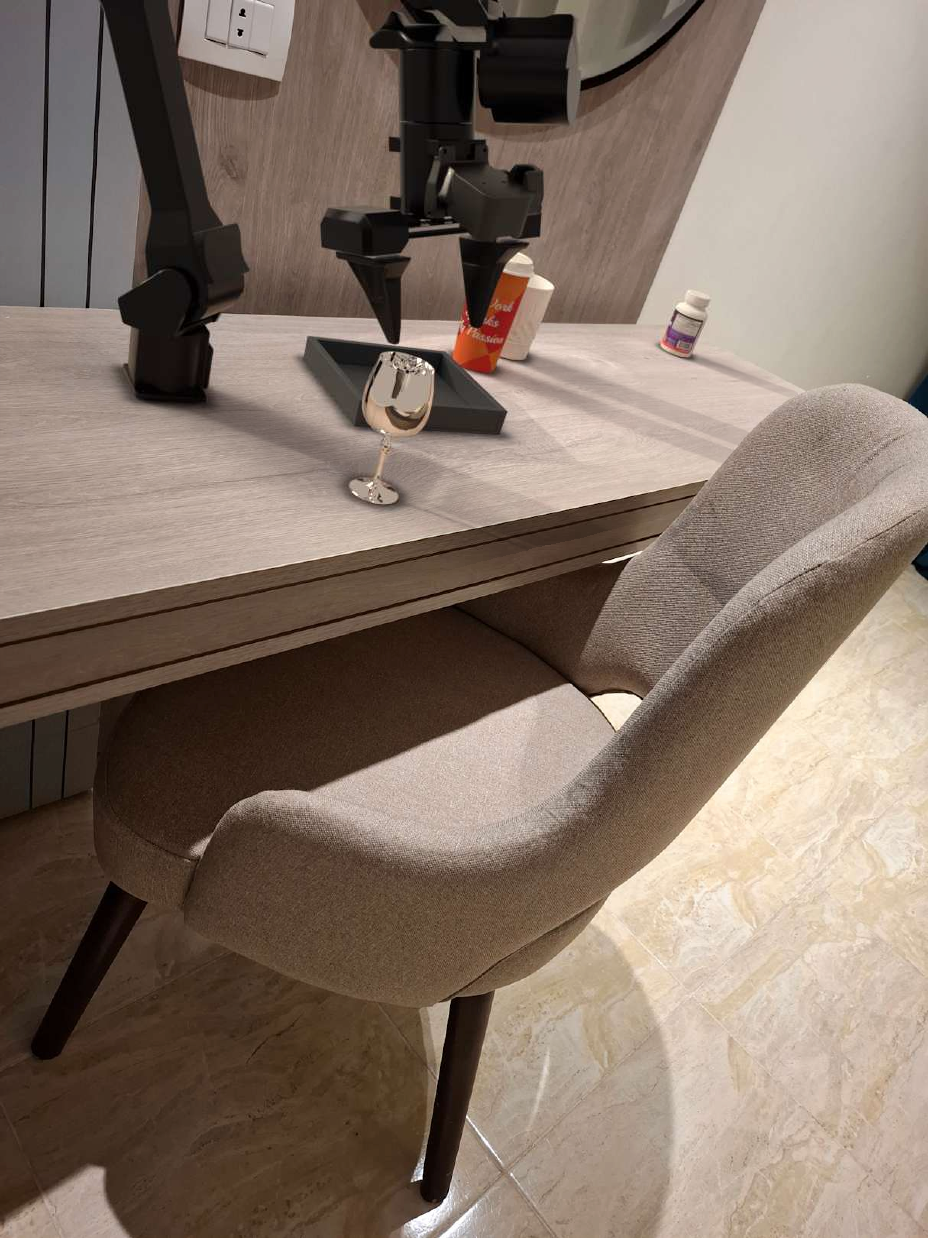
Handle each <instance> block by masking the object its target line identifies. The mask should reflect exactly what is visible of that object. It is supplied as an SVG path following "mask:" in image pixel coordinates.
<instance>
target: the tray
mask: <svg viewBox="0 0 928 1238" xmlns="http://www.w3.org/2000/svg"><path fill="white" fill-rule="evenodd" d="M384 352H400V353H405V354H409V355H412V356H415V357H417V358H420V359H422V360H424V361H425V362H427V363H429V364H430V365H431V366H432V367H433V368H434V370H435V378H434V395H433V403H432V408H431V412H430V415H429V417H428V420H427V422H426V424H425V425H424V427H423V428H422V429H421V430H420V431H434V432H435V431H436V432H453V433H467V434H468V433H470V434H485V435H501V433H502V429H503V427H504V424H505V421H506V417H507V415H508V410H507V409H506V408H505V407H504V406H503V405H502V404H501V403H500V402H499V401H497V399H496V398H495V397H494V396H492V394H491V393H489V392H488V390H486V388H484V387H483V385H481V384H480V383H479V382H478V381H477V380H476V379H475V378H474V377H473V376H472V375H471V374H470V373H469V372H467V370H465V368H464V367H463V366H461V365H459V364H458V363H457V362H456V361H455V360H454V359H453V356H451V355H450V354H449V353H448V352H447V351H445V350H437V349H430V348H429V349H427V348H420V347H411V346H401V345H394V344H385V343H375V342H368V341H367V342H366V341H358V340H351V339H350V340H349V339H340V338H333V337H323V336H313V335H307V337H306V342H305V347H304V352H303V357H302V361H303V362H304V363H305V365H306V366H307V367H308V368H309V369H310V371H311V373H313V374H314V376H315V378H316V379H317V380H318V381H319V382H320V384H321V385H322V386H323V388H324V389H325V390H326V391H327V393H328V394H329V396H330V397H331V398H332V400H333V401H334V402H335V403H336V404H337V406H338V407H339V408H340V410H341V411H342V412H343V413H344V414H345V416H346V417H347V419H348V420H349V421H350V422H351V424H352V425H353V426H354V427H369V428H370V427H371V426H370V425H369V424H368V423H367V421H366V419H365V417H364V414H363V410H362V399H363V393H364V389H365V386H366V383H367V380H368V378H369V376H370V373H371V371H372V369H373V367H374V366H375V364H376V362H377V360H378V358H379V356H380V354H381V353H384ZM371 428H372V427H371Z"/></svg>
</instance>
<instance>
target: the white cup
mask: <svg viewBox="0 0 928 1238" xmlns="http://www.w3.org/2000/svg"><path fill="white" fill-rule="evenodd" d="M554 291H555V286H554V284H553V283H552V282H551V281H549V280H547V279H546V278H544V277H542V276H540V275H538V274H535V276H534V277H530V279H529V282H528V284H527V287H526V289H525V292H524V295H523V297H522V300H521V302H520V305H519V308H518V310H517V313H516V315H515V318H514V321H513V323H512V326H511V328H510V331H509V333H508V336H507V339H506V341H505V344H504V346H503V349H502V351H501V354H500V356H499V358H504V359H508V360H512V361H522V360H523V361H524V360H526V358H527V356H528V353H529V352H530V349H531V346H532V344H533V341H535V339H536V336H537V334H538V331H539V329H540V326H541V323H542V321H543V319H544V316H545V315H546V311H547V309H548V306H549V303H550V301H551V299H552V296H553V293H554Z"/></svg>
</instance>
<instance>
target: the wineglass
mask: <svg viewBox="0 0 928 1238" xmlns="http://www.w3.org/2000/svg"><path fill="white" fill-rule="evenodd" d="M434 378H435V370H434V368H433V367H432V366H431V365H430V364H429V363H427V362H425V361H424V360H422V359H420V358H417V357H415V356H412V355H409V354H405V353H400V352H384V353H381V354H380V356H379V358H378V360H377V362H376V364H375V366H374V367H373V369H372V371H371V373H370V376H369V378H368V380H367V383H366V386H365V389H364V393H363V399H362V410H363V414H364V417H365V419H366V421H367V423H368V424H369V425H370V426H371V428H372V429H373V430H375V431H376V432H377V433H378V434H380V435H382V436H384V437H383V438H381V441H380V443H379V457H378V458H379V459H378V464H377V467H376V471H375V473H374V475H373V477H357V478H353V479H352V480H350V482H349V483H348V488H349V490H350V492H351V493H352V494H353V495H355V496H356V497H357V498H359V499H360V500H363V501H365V502H368V503H371V504H375V505H391V504H394V503H396V502H397V501H398V500H399V493H398V491H397V490H396V489H395V487H394V486H392V485H390V484H389V483H387V482H385V481H383V480H382V478H381V476H382V471H383V468H384V463H385V461H386V458H387V457H388V454H389V453H390V451H391V449H392V446H393V440H392V438H393V439H405V438H406V439H407V438H410V437H413V436H415V435H416V434H418V433H419V432H421V431H422V430H421V429H422V428H423V427H424V425H425V424H426V422H427V420H428V417H429V415H430V412H431V408H432V403H433V395H434Z"/></svg>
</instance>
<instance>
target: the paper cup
mask: <svg viewBox="0 0 928 1238" xmlns="http://www.w3.org/2000/svg"><path fill="white" fill-rule="evenodd" d="M533 263H534V261H533V259H531V258H530V257H529V256H527V255H525V254H524V253H521V252H520V251H519V252H518V253H517V254H516V255H515V256H514V257H513V258H512V259H511V260H509V261H508V263H507V264H506V266H505V268H504V270H503V272H502V274H501V277H500V279H499V281H498V284H497V287H496V289H495V292H494V295H493V298H492V301H491V303H490V306H489V309H488V312H487V315H486V317H485V320H484V323H483V326H482V327H481V328H479V329H477V328H473V327H471V326H470V321H469V317H468V312H467V306H466V298H464V304H463V308H462V312H461V318H460V322H459V325H458V331H457V334H456V339H455V344H454V348H453V352H452V358H453V359H454V360H455V361H456V362H457V363H458V364H459V365H460V366H461V367H462V368H464V369H467V370H469V371H473V372H477V373H482V374H489V373H492V372H494V370H495V368H496V366H497V363H498V361H499V359H500V354H501V351H502V349H503V346H504V344H505V341H506V339H507V336H508V333H509V331H510V328H511V326H512V323H513V321H514V318H515V315H516V313H517V310H518V308H519V305H520V302H521V300H522V297H523V295H524V292H525V289H526V287H527V284H528V282H529V279H530V277H534V276H535V275H536V273H535V272H534V269H535V266H534V265H533Z"/></svg>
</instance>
